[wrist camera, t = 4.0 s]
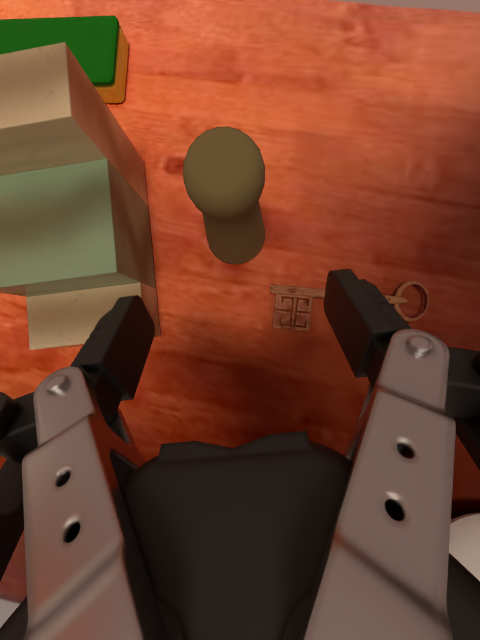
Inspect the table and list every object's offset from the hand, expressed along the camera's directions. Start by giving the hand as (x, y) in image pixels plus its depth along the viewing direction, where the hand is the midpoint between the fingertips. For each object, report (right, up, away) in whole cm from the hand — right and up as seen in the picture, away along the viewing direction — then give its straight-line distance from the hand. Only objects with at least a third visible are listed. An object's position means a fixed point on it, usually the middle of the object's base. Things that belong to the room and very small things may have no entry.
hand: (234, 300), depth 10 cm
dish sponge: (-19, +27, +16) cm, 37 cm away
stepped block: (-15, +6, +15) cm, 22 cm away
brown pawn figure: (0, +8, +14) cm, 16 cm away
